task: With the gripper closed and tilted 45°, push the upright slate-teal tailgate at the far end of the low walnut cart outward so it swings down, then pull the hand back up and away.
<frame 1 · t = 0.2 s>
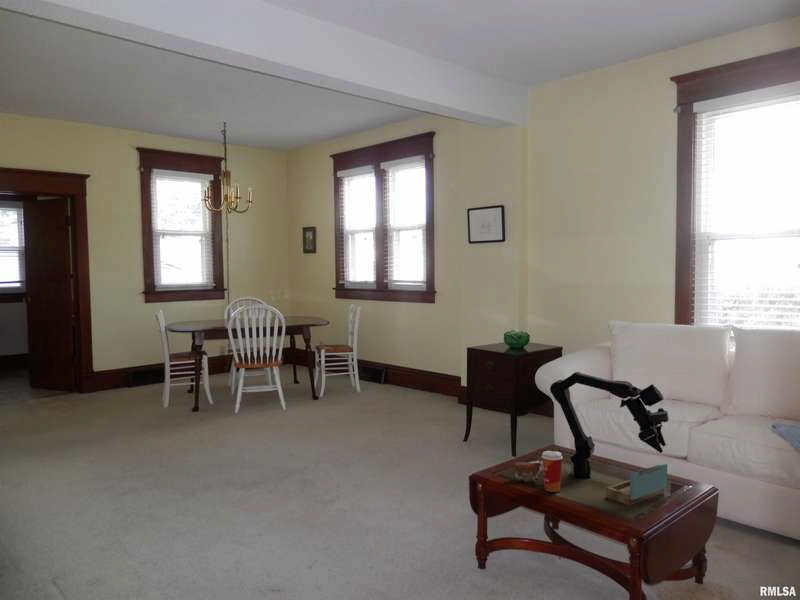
hand: (663, 448, 228), 15 cm above the table, tool tilted 35°, fingers open, 9 cm apart
tailgate: (649, 481, 217), point 7 cm above the table, hinge at 0.0°
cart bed: (635, 494, 223), on the table
paper cup: (552, 490, 229), on the table
bull figurine: (530, 480, 240), on the table
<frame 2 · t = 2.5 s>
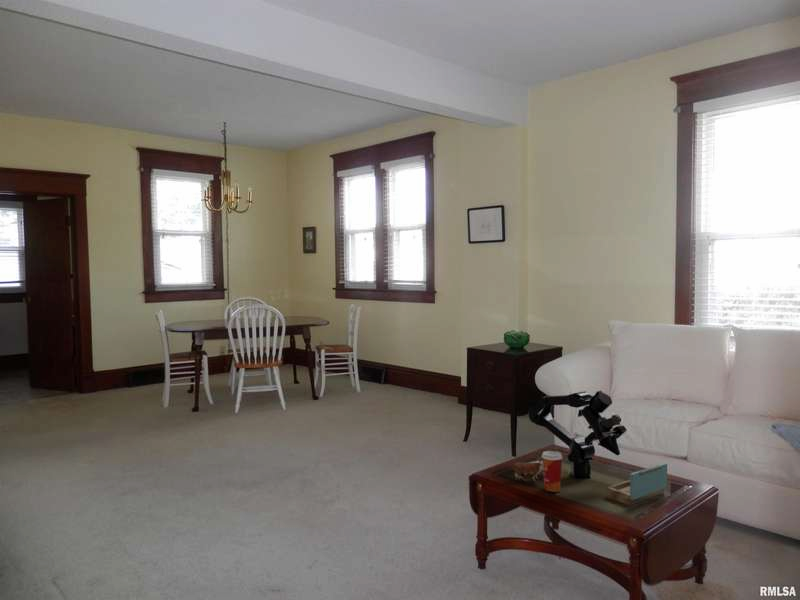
hand: (618, 454, 228), 13 cm above the table, tool tilted 45°, fingers closed
nothing on the table moved.
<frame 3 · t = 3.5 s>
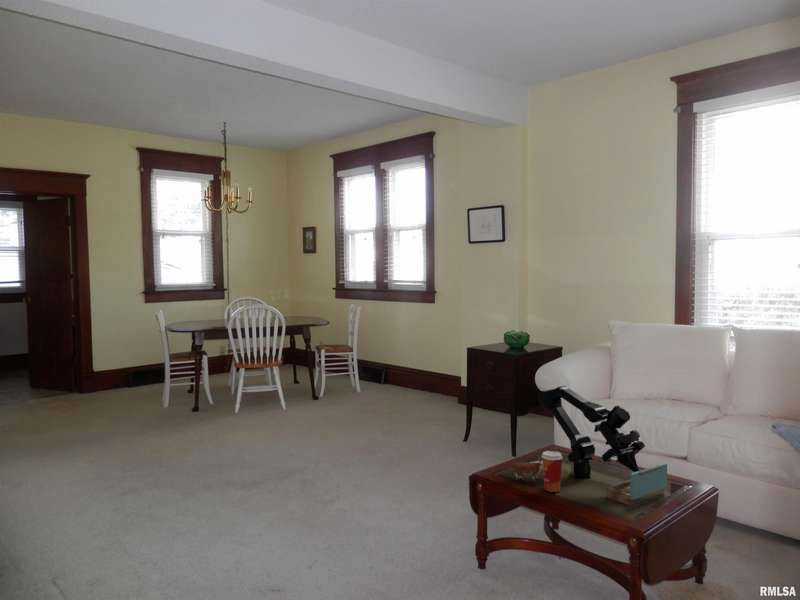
hand: (637, 471, 221), 9 cm above the table, tool tilted 45°, fingers closed
nothing on the table moved.
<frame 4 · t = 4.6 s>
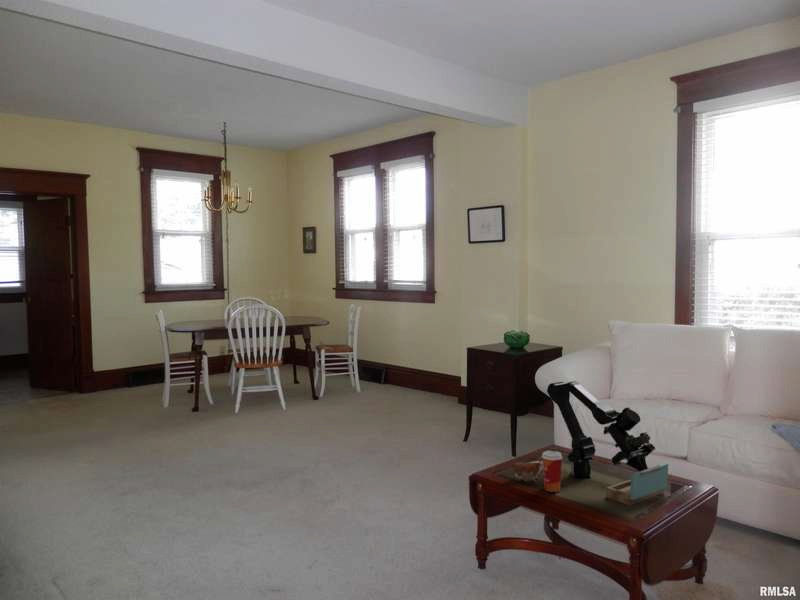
hand: (648, 474, 218), 9 cm above the table, tool tilted 45°, fingers closed, pressing on tailgate
tailgate: (650, 481, 217), point 7 cm above the table, hinge at 2.9°, touching gripper
everything else where it was.
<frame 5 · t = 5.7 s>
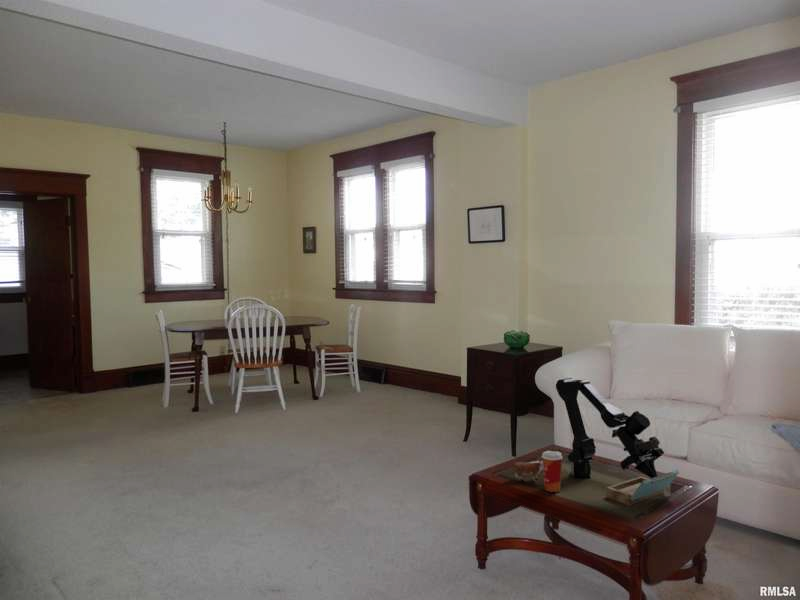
hand: (656, 480, 215), 8 cm above the table, tool tilted 45°, fingers closed, pressing on tailgate
tailgate: (655, 485, 215), point 6 cm above the table, hinge at 33.0°, touching gripper
everything else where it was.
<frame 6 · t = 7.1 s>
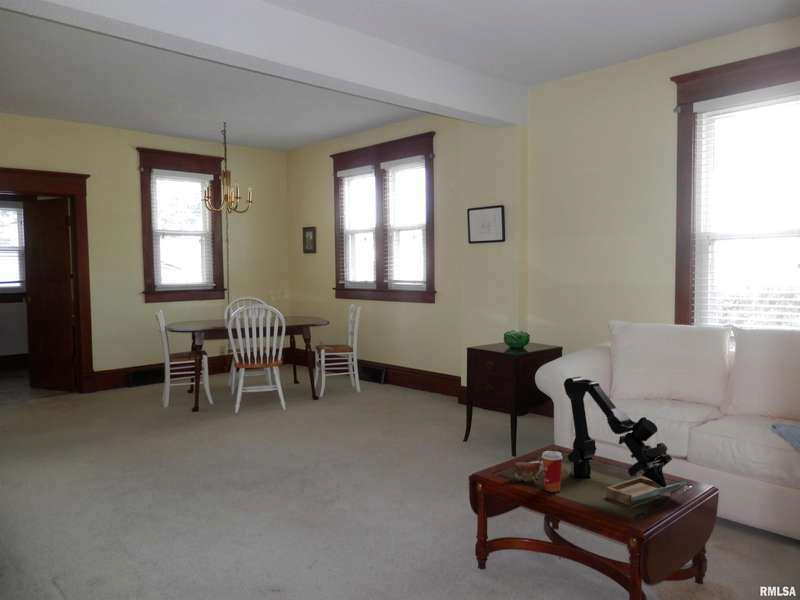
hand: (665, 486, 212), 7 cm above the table, tool tilted 45°, fingers closed
tailgate: (659, 491, 214), point 4 cm above the table, hinge at 62.9°
everything else where it was.
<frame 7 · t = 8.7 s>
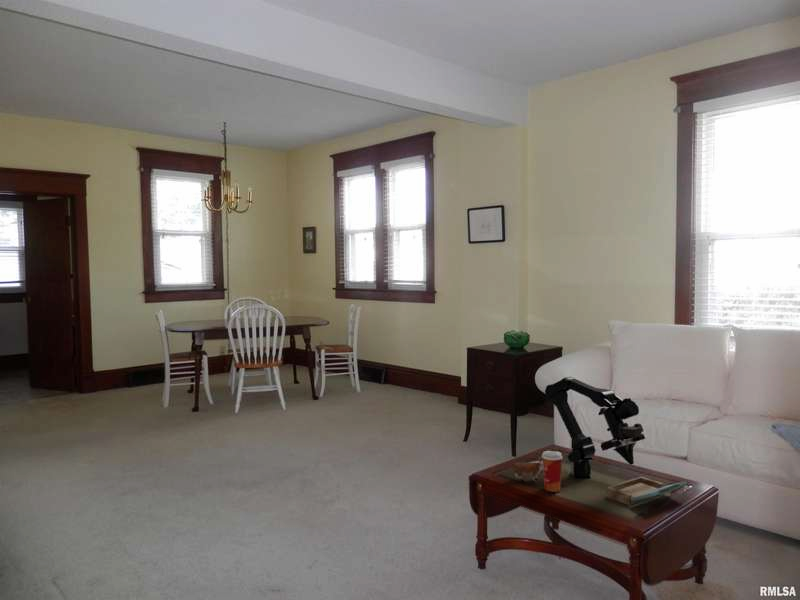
hand: (632, 464, 223), 11 cm above the table, tool tilted 30°, fingers closed
nothing on the table moved.
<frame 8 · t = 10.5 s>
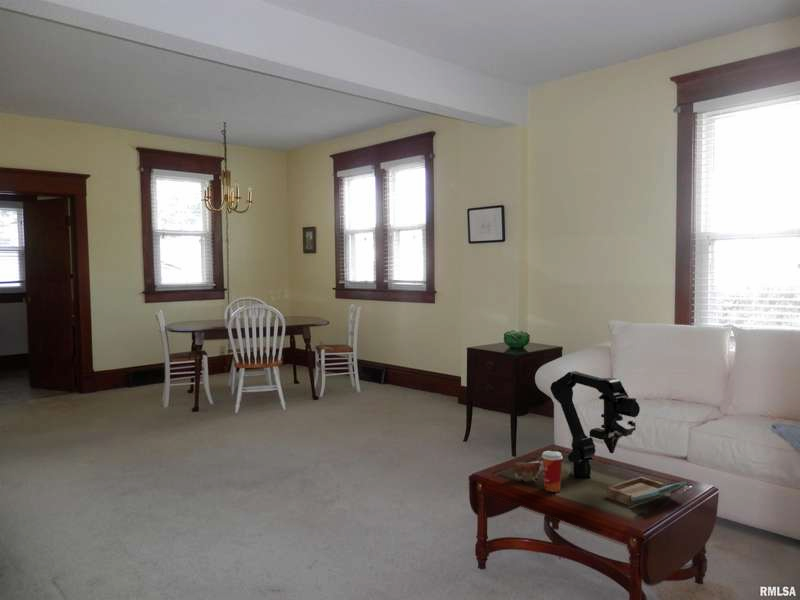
hand: (611, 453, 231), 13 cm above the table, tool pointing down, fingers closed
nothing on the table moved.
at the end: tailgate at +63° (first picture: +0°); paper cup moved 0.2 cm from its start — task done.
